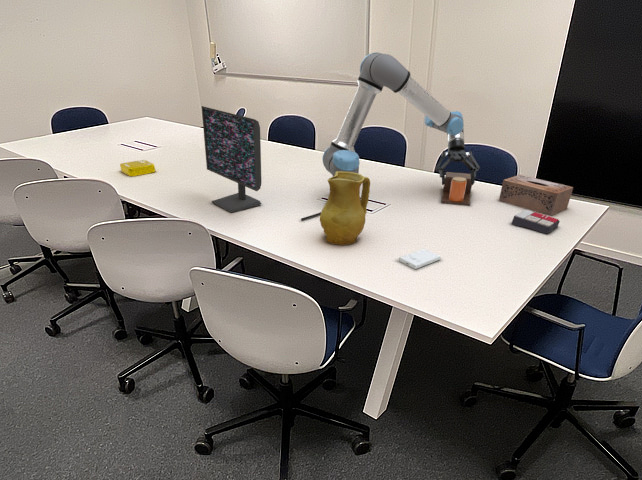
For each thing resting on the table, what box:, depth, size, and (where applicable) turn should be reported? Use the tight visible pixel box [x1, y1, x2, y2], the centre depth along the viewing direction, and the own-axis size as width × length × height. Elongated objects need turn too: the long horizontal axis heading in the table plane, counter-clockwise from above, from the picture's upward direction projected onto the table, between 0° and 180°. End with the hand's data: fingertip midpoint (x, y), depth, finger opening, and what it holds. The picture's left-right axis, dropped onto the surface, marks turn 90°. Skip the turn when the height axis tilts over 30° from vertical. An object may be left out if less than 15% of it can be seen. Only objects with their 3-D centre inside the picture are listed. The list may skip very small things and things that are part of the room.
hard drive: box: [398, 248, 442, 270], centre depth 157 cm, size 2×8×12 cm
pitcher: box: [319, 171, 371, 246], centre depth 167 cm, size 17×19×25 cm
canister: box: [449, 177, 467, 202], centre depth 208 cm, size 7×7×10 cm
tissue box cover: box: [498, 174, 574, 217], centre depth 205 cm, size 26×14×10 cm, turn 39°
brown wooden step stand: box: [440, 171, 473, 207], centre depth 215 cm, size 24×13×8 cm, turn 164°
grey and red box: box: [511, 209, 561, 235], centre depth 184 cm, size 11×4×15 cm
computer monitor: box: [201, 105, 262, 213], centre depth 196 cm, size 44×16×40 cm, turn 40°
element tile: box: [119, 159, 156, 177], centre depth 251 cm, size 15×15×5 cm
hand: (458, 183), depth 207 cm, fingers open, 13 cm apart
